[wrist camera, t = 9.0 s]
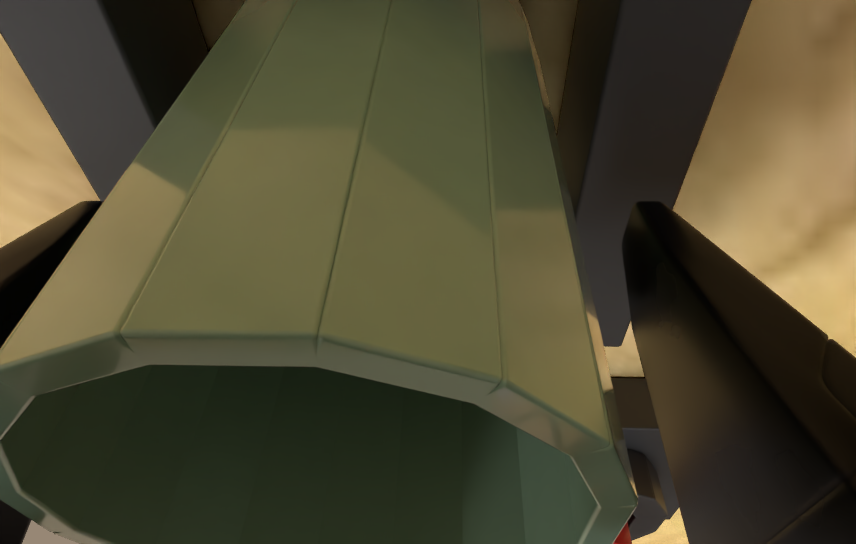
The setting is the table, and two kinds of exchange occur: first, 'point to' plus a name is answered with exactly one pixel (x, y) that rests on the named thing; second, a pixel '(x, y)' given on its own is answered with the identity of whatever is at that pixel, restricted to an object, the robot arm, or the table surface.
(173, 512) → the tumbler
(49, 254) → the robot arm
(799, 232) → the table surface
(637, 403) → the button panel
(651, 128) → the dark square frame
